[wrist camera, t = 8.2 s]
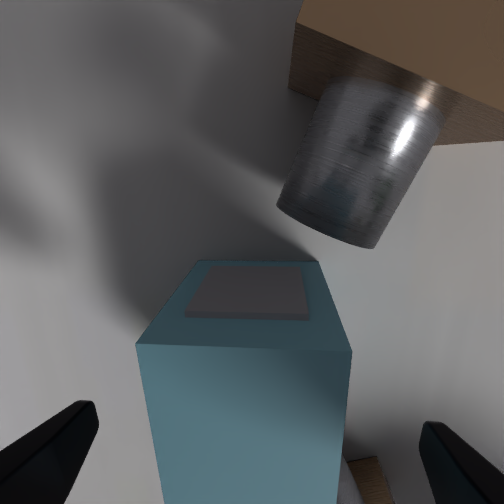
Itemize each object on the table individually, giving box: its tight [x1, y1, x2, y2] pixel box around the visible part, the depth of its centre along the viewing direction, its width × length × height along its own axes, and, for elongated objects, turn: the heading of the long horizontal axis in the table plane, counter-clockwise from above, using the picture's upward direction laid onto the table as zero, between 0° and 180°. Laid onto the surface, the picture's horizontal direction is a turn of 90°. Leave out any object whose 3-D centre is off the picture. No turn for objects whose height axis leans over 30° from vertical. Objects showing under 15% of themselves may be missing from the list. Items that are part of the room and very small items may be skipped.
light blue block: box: [135, 260, 352, 504], centre depth 10 cm, size 6×5×6 cm
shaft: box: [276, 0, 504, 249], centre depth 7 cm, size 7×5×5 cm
